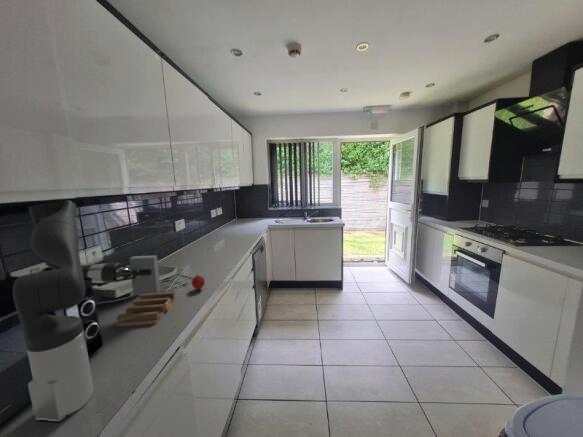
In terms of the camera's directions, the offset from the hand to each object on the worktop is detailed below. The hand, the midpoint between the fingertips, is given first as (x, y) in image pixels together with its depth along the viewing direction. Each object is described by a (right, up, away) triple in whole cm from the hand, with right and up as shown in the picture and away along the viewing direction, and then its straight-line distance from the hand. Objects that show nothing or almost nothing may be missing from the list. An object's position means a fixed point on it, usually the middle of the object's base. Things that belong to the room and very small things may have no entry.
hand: (152, 270), depth 93 cm
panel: (-3, -9, +1) cm, 10 cm away
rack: (-3, -17, +2) cm, 18 cm away
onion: (+10, -14, +21) cm, 28 cm away
